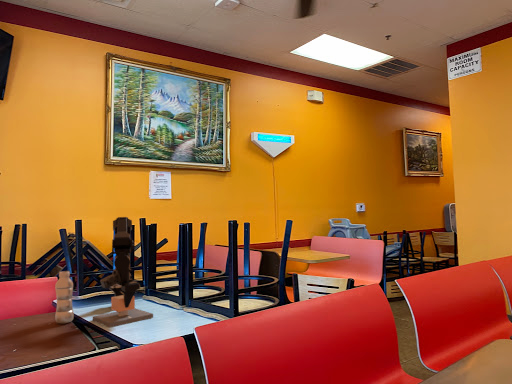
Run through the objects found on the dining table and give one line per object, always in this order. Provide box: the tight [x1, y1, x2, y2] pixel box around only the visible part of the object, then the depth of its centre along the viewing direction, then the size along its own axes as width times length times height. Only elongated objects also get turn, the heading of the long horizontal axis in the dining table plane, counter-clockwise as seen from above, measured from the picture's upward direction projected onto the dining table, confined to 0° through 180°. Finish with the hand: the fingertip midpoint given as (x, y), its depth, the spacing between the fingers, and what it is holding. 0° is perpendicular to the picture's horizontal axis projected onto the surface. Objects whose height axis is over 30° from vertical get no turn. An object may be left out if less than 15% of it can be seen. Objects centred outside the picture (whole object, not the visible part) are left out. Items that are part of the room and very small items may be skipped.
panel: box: [92, 308, 154, 328], centre depth 156 cm, size 16×18×5 cm
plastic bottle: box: [54, 270, 75, 324], centre depth 153 cm, size 6×7×20 cm
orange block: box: [110, 295, 136, 312], centre depth 156 cm, size 6×7×5 cm
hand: (122, 306), depth 156 cm, fingers closed on orange block, 6 cm apart
